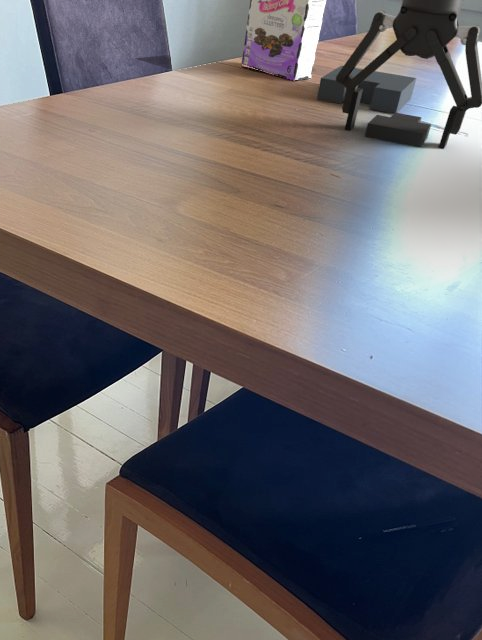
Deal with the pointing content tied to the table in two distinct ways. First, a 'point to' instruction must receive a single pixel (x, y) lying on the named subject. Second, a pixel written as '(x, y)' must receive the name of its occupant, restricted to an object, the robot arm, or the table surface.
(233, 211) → the table surface
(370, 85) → the base pad
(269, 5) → the candy box
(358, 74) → the robot arm
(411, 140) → the pad
